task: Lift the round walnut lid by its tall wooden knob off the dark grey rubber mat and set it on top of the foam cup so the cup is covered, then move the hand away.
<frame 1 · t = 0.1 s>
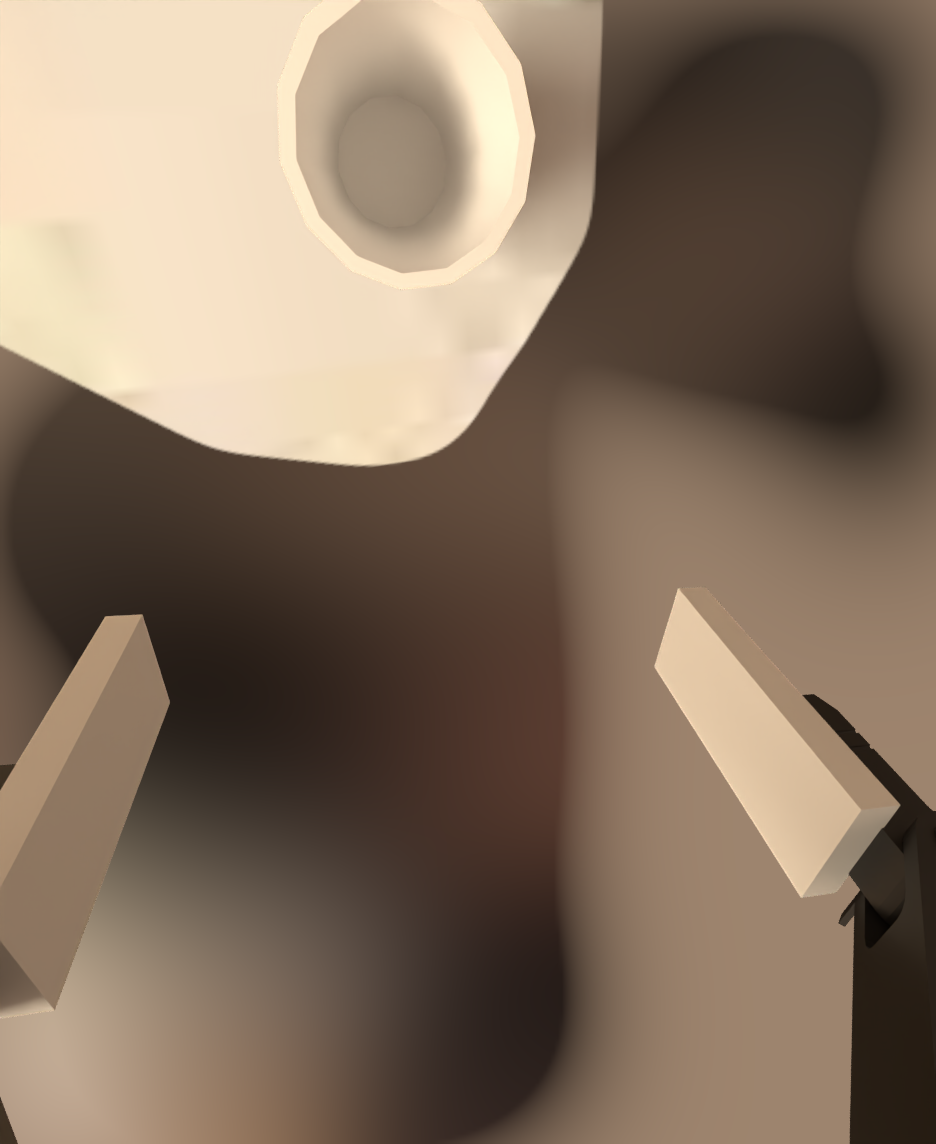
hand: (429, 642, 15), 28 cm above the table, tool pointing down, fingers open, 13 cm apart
foam cup: (392, 165, 32), on the table
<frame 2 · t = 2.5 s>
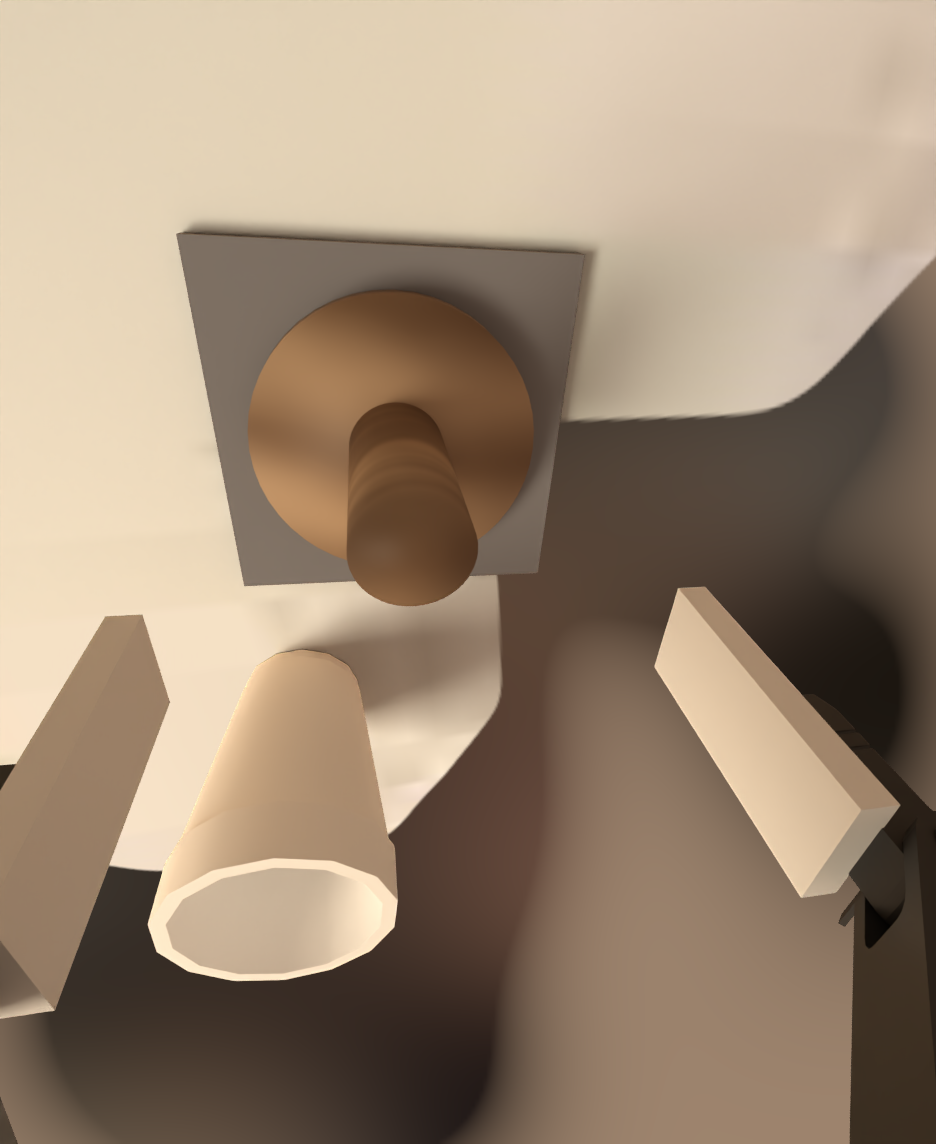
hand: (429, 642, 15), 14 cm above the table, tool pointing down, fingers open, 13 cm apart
foam cup: (303, 688, 34), on the table
lid: (395, 439, 25), point 1 cm above the table, touching mat
mat: (394, 434, 26), on the table
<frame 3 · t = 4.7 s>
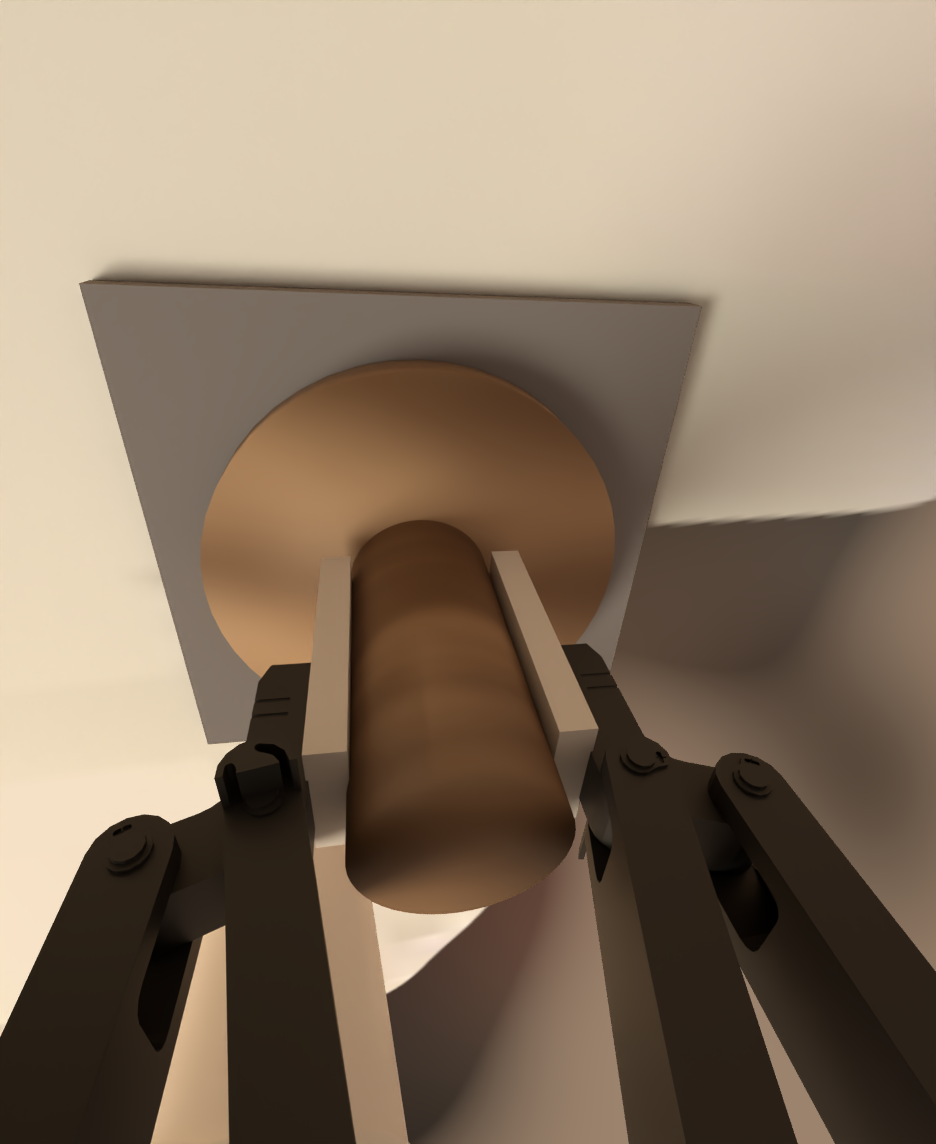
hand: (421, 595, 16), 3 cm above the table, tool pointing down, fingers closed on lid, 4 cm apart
foam cup: (292, 845, 26), on the table
lid: (416, 559, 18), point 1 cm above the table, touching gripper
mat: (414, 550, 18), on the table
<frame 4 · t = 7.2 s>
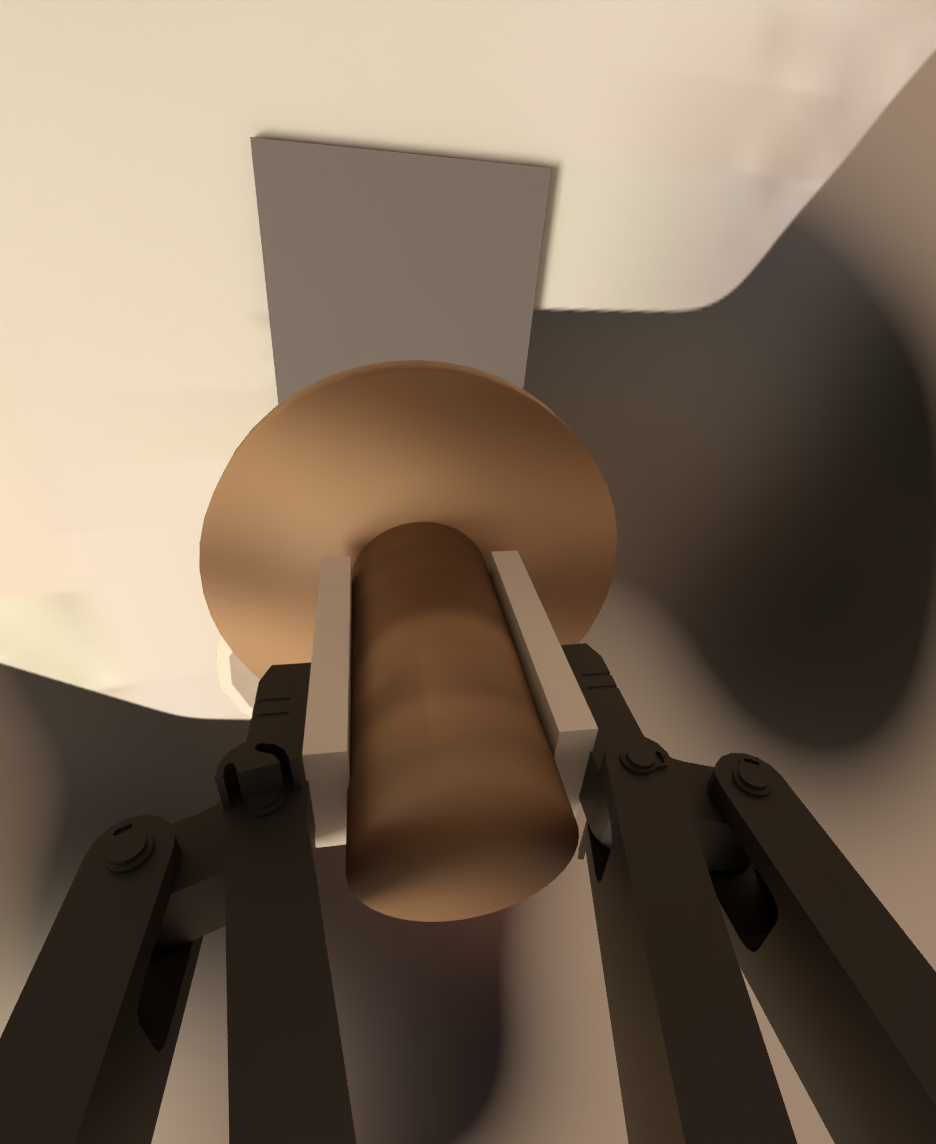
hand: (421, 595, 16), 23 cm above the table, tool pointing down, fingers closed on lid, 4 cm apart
foam cup: (323, 543, 41), on the table
lid: (416, 560, 18), point 21 cm above the table, touching gripper
mat: (404, 313, 33), on the table
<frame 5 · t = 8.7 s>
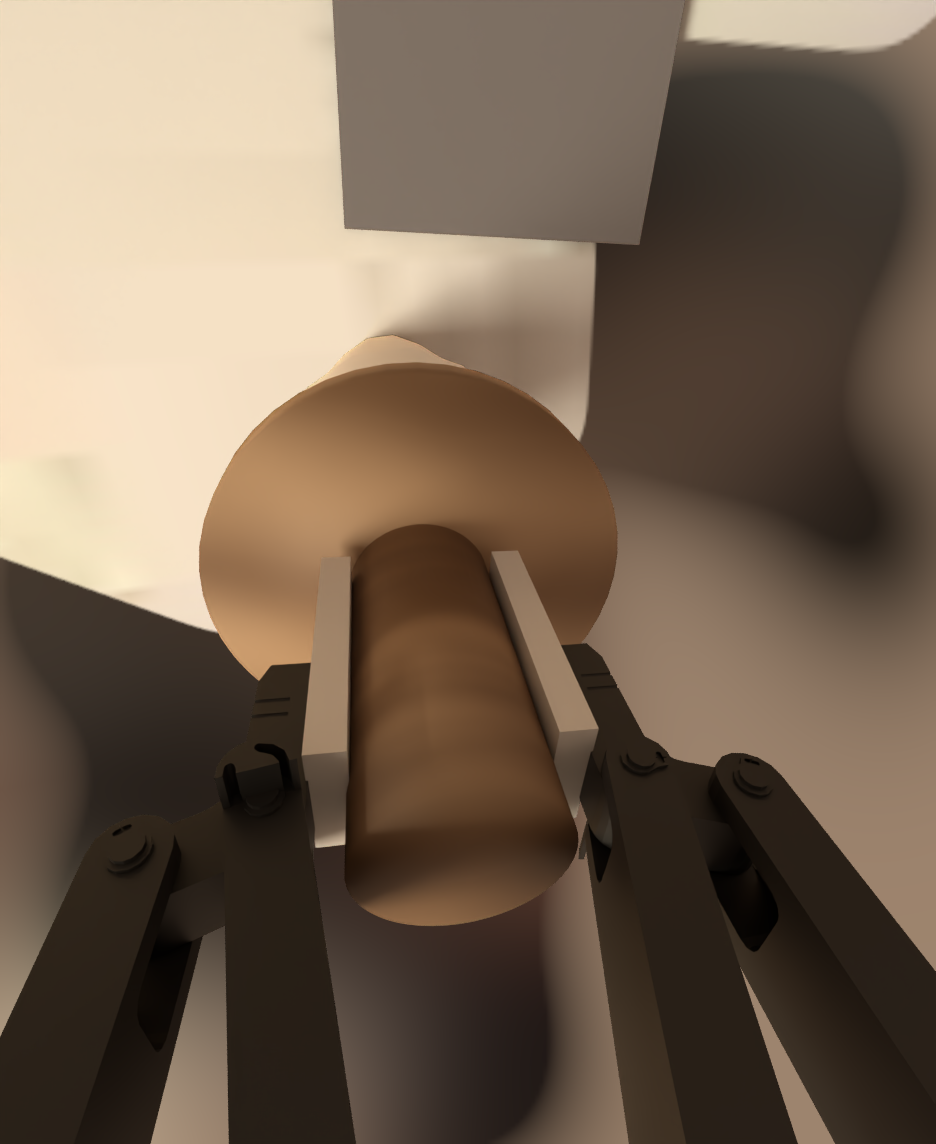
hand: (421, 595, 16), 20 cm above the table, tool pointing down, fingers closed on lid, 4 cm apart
foam cup: (389, 393, 33), on the table
lid: (416, 562, 18), point 18 cm above the table, touching gripper
mat: (509, 37, 25), on the table
when the fingers open (16 cm above the table, at t = 10.0 s): lid drops 2 cm, resting on foam cup.
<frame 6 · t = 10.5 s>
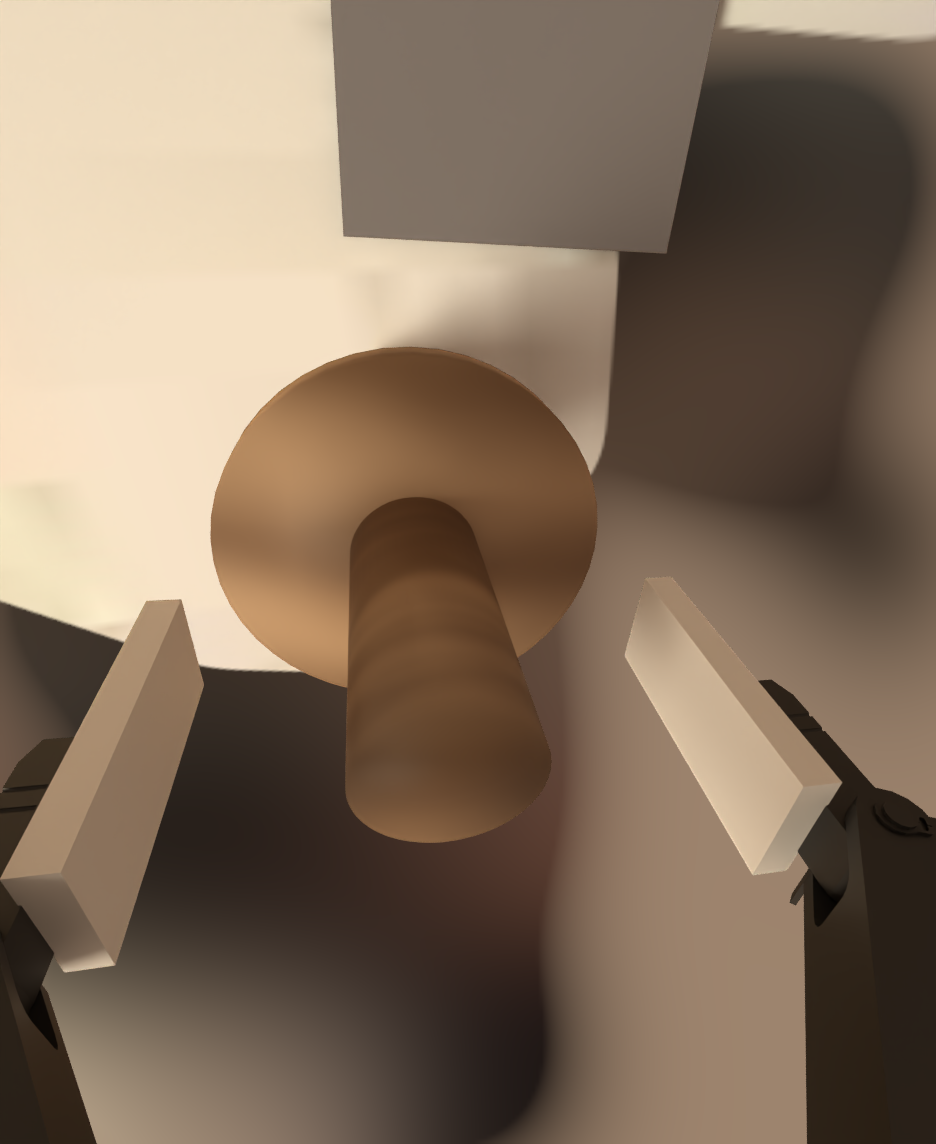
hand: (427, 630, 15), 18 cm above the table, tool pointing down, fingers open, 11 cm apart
lid: (411, 536, 19), point 13 cm above the table, touching foam cup
mat: (527, 24, 22), on the table
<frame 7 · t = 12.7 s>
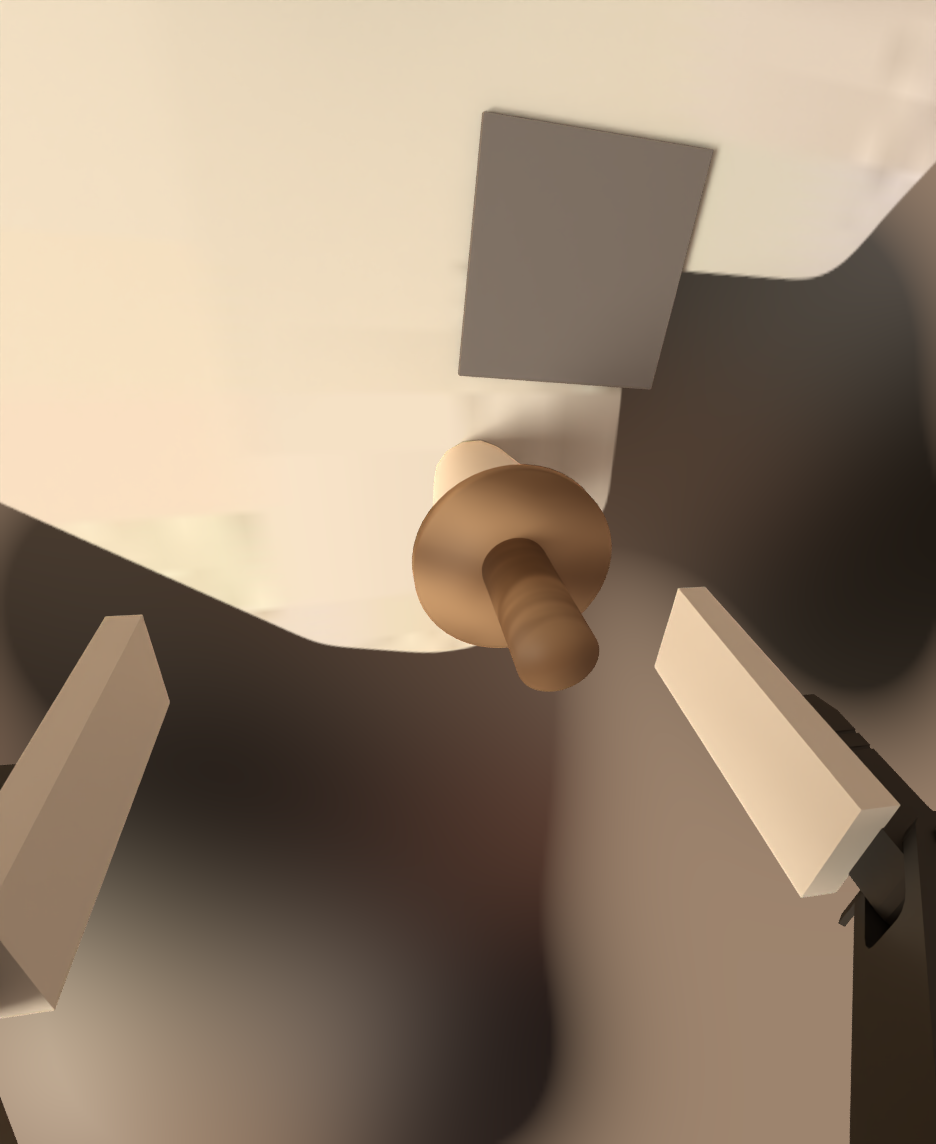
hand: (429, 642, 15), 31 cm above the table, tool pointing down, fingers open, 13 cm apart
foam cup: (472, 477, 46), on the table, touching lid
lid: (510, 557, 35), point 13 cm above the table, touching foam cup
mat: (576, 268, 39), on the table
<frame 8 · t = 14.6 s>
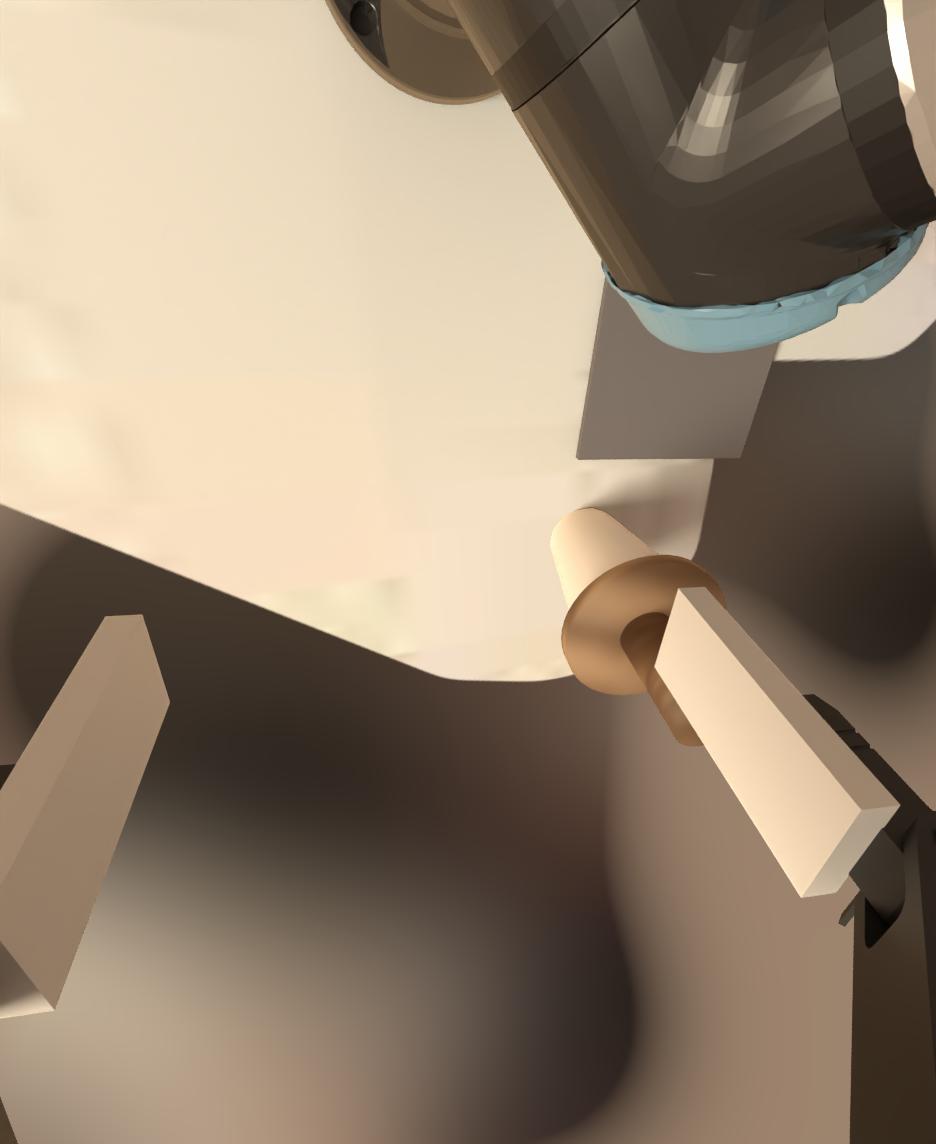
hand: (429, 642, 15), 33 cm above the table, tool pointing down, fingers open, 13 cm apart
foam cup: (582, 537, 53), on the table, touching lid
lid: (639, 624, 42), point 13 cm above the table, touching foam cup
mat: (680, 367, 46), on the table
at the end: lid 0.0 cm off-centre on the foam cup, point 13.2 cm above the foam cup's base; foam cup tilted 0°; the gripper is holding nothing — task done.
